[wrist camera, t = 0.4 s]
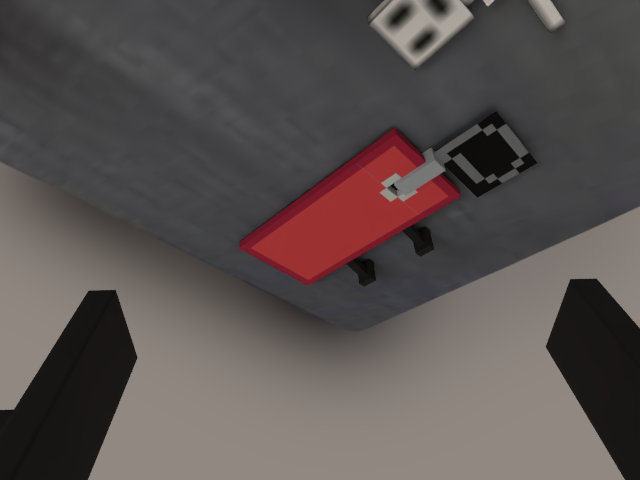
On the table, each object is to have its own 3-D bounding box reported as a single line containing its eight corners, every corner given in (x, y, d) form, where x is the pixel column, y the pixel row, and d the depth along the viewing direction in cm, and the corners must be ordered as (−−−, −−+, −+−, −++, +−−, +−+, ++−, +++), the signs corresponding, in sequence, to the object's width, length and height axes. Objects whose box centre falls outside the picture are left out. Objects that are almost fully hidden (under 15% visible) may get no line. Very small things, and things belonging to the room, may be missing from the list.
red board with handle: (542, 166, 46) (466, 70, 38) (552, 185, 45) (474, 89, 36) (327, 287, 62) (239, 238, 53) (328, 305, 60) (237, 257, 52)
